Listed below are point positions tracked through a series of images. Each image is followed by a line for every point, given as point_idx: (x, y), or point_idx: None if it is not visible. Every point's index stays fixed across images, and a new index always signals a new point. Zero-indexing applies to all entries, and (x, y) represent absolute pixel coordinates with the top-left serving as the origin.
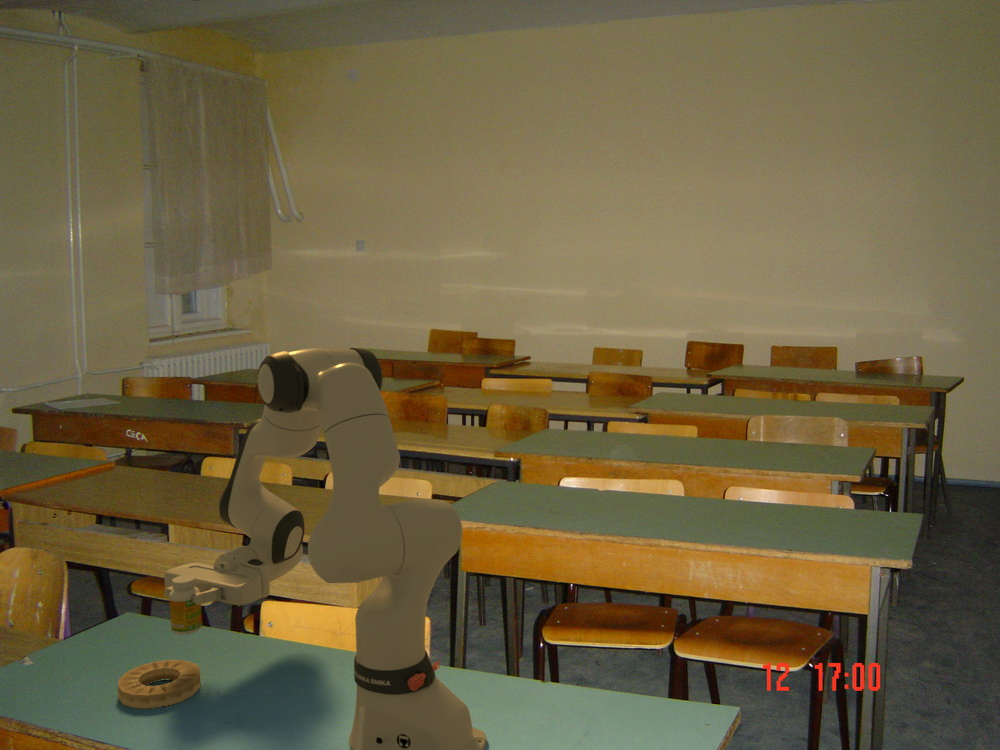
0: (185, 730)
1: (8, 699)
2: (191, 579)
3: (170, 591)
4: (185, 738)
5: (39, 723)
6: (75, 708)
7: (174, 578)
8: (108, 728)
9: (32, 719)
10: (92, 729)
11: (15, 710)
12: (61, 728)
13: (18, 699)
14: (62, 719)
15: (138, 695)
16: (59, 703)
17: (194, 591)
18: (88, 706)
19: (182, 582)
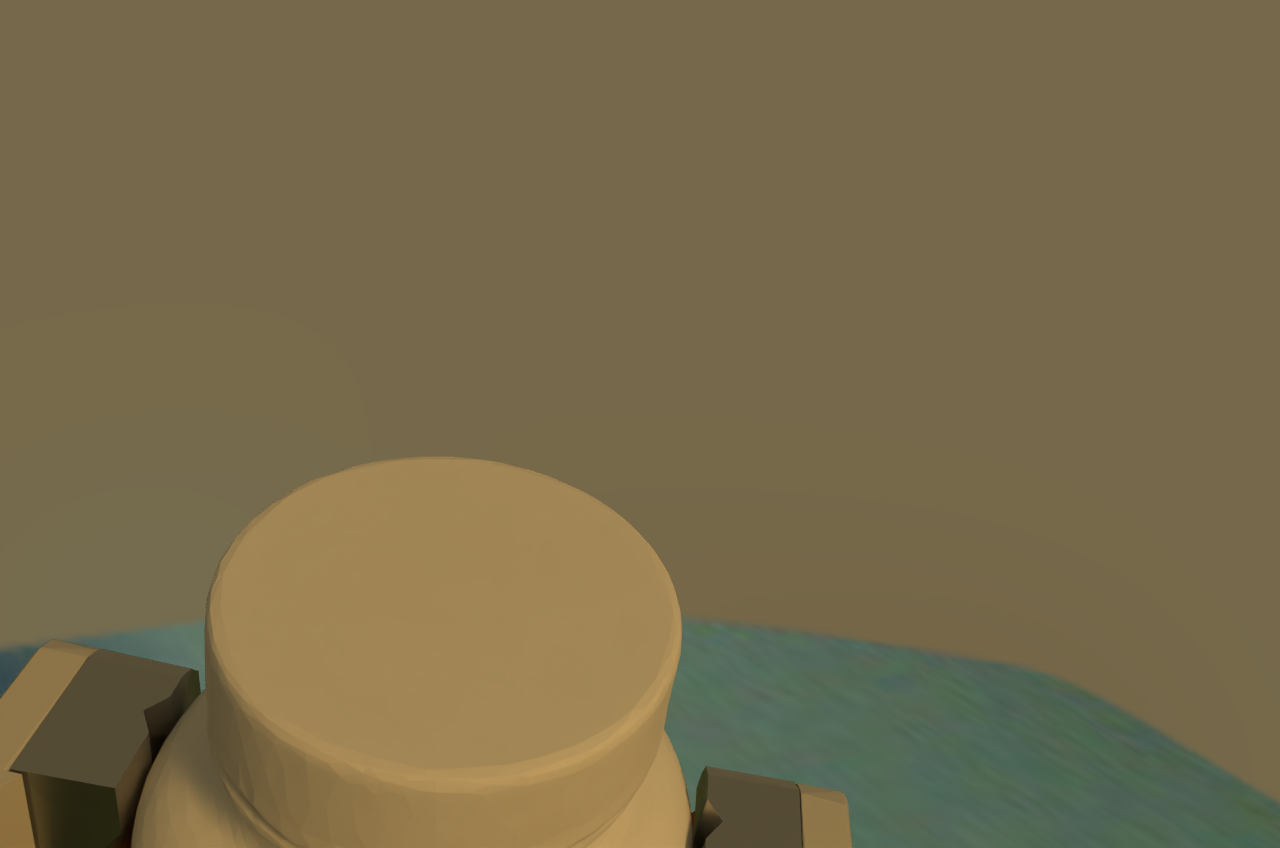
0: None
1: (1247, 784)
2: (247, 581)
3: (706, 775)
4: (14, 669)
5: (867, 648)
6: (856, 787)
7: (650, 581)
8: None
9: (932, 667)
10: None
11: (1090, 711)
12: (733, 634)
13: (1209, 795)
14: (807, 692)
15: None
16: (987, 810)
17: (192, 753)
18: None
19: (355, 466)
